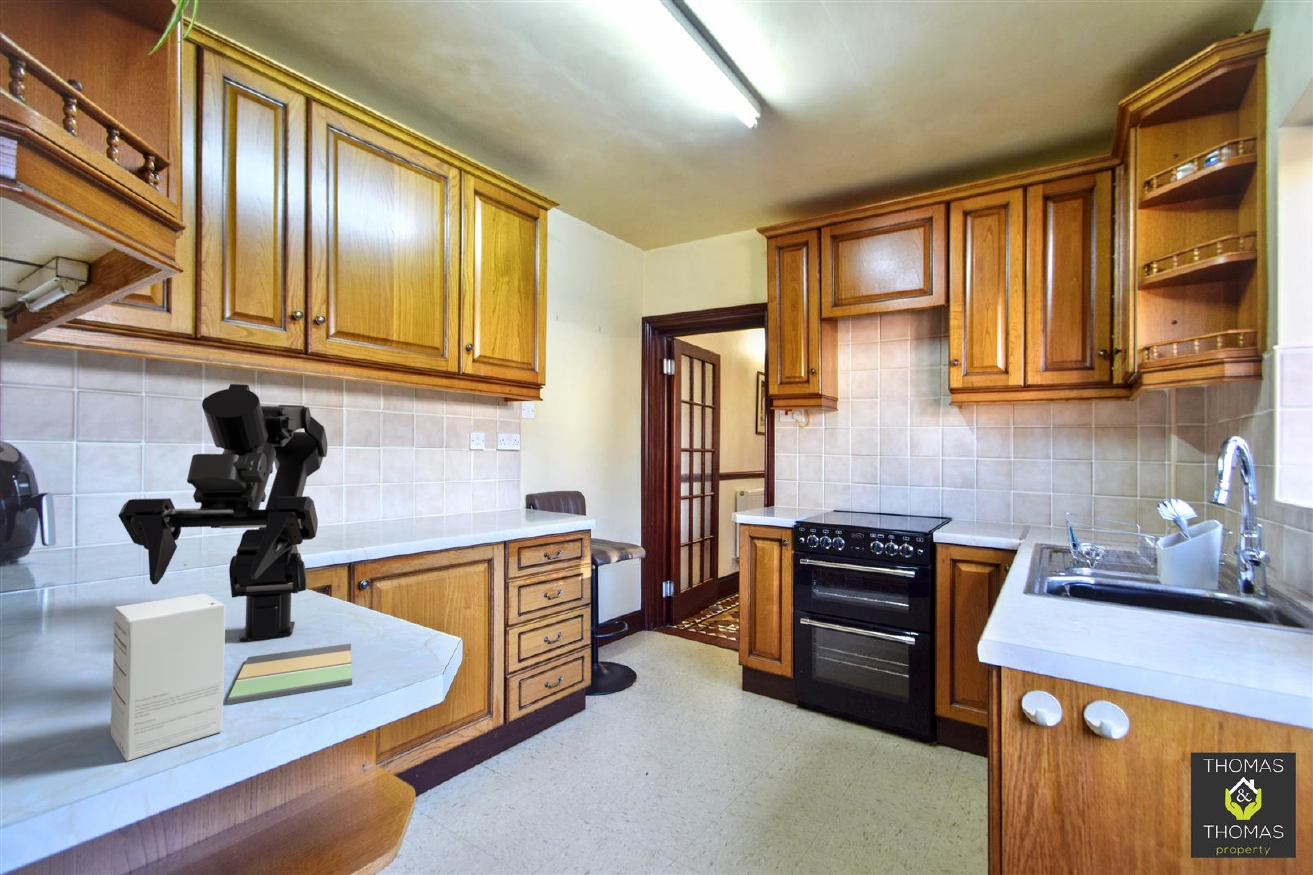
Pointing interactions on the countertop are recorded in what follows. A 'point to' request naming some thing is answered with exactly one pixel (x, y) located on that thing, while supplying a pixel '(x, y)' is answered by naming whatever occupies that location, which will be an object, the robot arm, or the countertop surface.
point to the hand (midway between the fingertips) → (204, 579)
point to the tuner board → (292, 673)
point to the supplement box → (167, 673)
